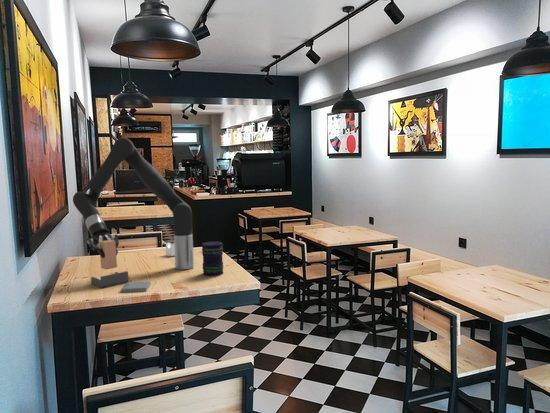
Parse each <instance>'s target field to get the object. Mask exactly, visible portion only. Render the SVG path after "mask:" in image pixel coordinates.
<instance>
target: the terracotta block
mask: <svg viewBox="0 0 550 413" xmlns="http://www.w3.org/2000/svg"><path fill="white" fill-rule="evenodd" d="M100 243H101V247H102V248H101V249H103V251H104V253H105V257H104V258H102V257H101V256H100V255H99V256H100V257H99V258H100V268H101V269H104V270H110V269H115V268H118V262H117V260H118V259H117V256H116V243H115V241H114V240H112V239H111V240H105V241H100Z"/></svg>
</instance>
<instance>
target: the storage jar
mask: <svg viewBox="0 0 550 413" xmlns="http://www.w3.org/2000/svg"><path fill="white" fill-rule="evenodd" d="M201 244H202V245H201V246H202V247H201V248H202V249H201V252H202V255H201V256H202V272H203V273H202V275H203V276H205V277H217V276H222V275H224V262H223V254H224V251H223V250H224V248H223V242H222V241H216V240H215V241H204V242H202V243H201Z"/></svg>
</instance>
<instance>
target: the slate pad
mask: <svg viewBox="0 0 550 413" xmlns="http://www.w3.org/2000/svg"><path fill="white" fill-rule="evenodd" d="M150 286H151V280H146V281H128V282H127V283H124V285H123V286H122V288H121V289H120V292H121V293H136V292H147V291H148V290H149V288H150Z"/></svg>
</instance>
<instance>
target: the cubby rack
mask: <svg viewBox="0 0 550 413" xmlns="http://www.w3.org/2000/svg"><path fill="white" fill-rule="evenodd" d="M127 282H129V271H122V272H121V271H120V272H118V271H115V272H114V273H112V274H107V275H101V276H100V278H97V277H95V276H90V284H91V285H93V286H96V287H98V288H101V289H105V288H109V287H114V286H119V285H122V284H124V285H125V284H126V283H127Z"/></svg>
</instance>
